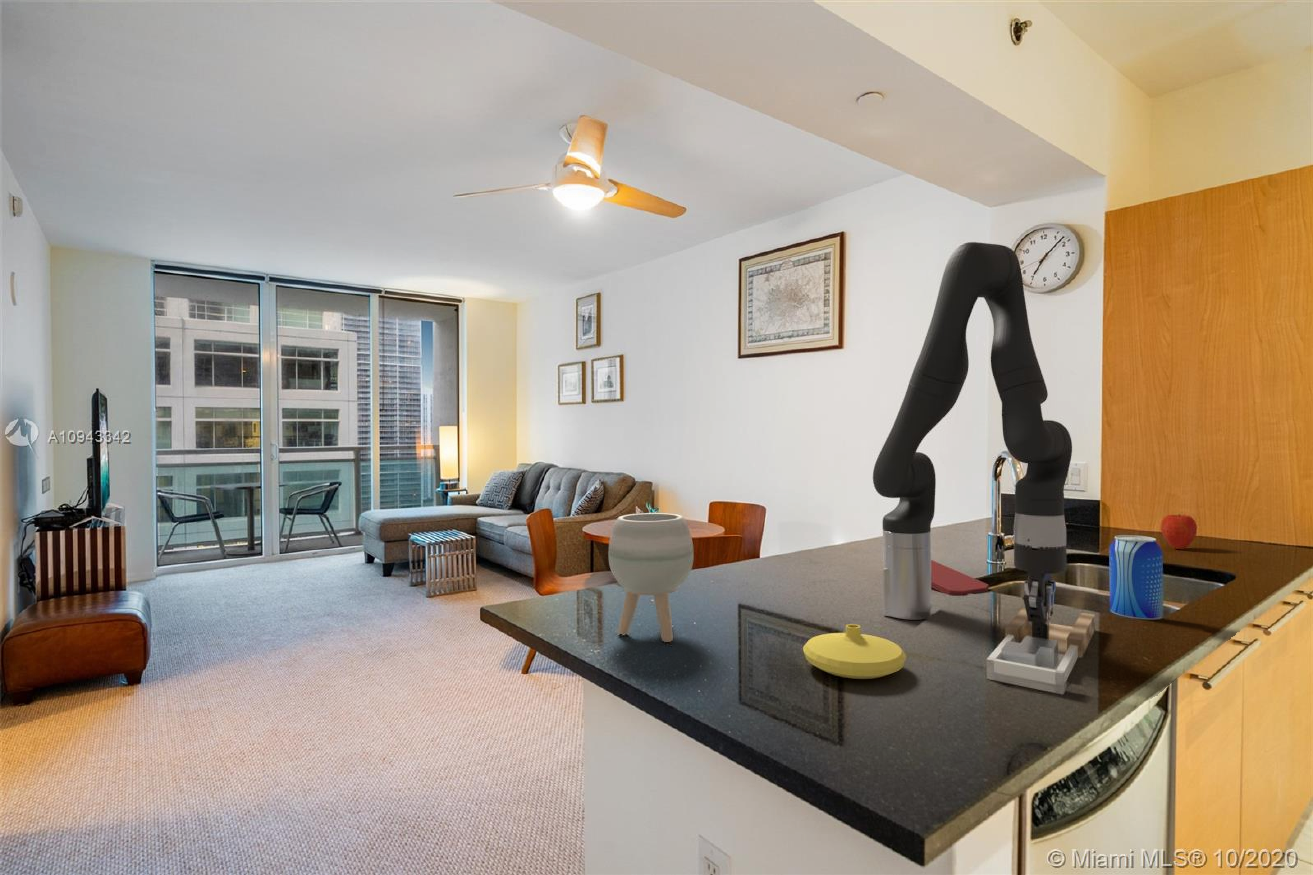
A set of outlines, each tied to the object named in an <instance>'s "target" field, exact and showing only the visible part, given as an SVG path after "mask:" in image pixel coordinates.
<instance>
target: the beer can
mask: <svg viewBox="0 0 1313 875" xmlns="http://www.w3.org/2000/svg"><path fill="white" fill-rule="evenodd" d="M1108 551H1109V552H1108V554H1109V558H1108V559H1109V564H1108V565H1109V566H1108V567H1109V568H1108V569H1109V611H1110V613H1112V614H1115V615H1117V616H1120V617H1125V618H1131V619H1136V620H1161V619H1162V618H1163V617H1164V578H1163V577H1164V575H1163V574H1164V568H1163V565H1164V564H1163V562H1164V561H1163V560H1164V559H1163V550H1162V548H1161V547H1160V545H1159V544H1158V543H1157V539H1156V538H1154V537H1151V536H1145V535H1131V534H1129V535H1128V534H1120V535H1115V536H1114V540H1113V541H1112V542H1111V544H1110V546H1109V548H1108Z"/></svg>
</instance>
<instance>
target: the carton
mask: <svg viewBox="0 0 1313 875" xmlns="http://www.w3.org/2000/svg"><path fill="white" fill-rule="evenodd" d="M931 589H934V590H936V591H938V592H940V593H942V594H944V595H949V596H965V595H971V594H976V593H984V592H986V591H988V590H989V584H988V583H986V582H983V581H981V580H979V579H976V578H975V577H972V576H969V575H967V574H965V573H962V572H960V571H958V570H955V569H953V568H951V567H948V566H947V565H943V564H942V563H939V562H936V561H934V560H932V559H931Z"/></svg>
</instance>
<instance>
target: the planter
mask: <svg viewBox="0 0 1313 875" xmlns="http://www.w3.org/2000/svg"><path fill="white" fill-rule="evenodd" d="M689 528H690V527H689V525H688V523H687V521H686V519H685V518H684V516H683V515H681V514H676V513H669V512H668V513H665V512H646V513H645V512H644V513H643V512H642V513H641V512H640V513H631V514H624V515H621V516H618V518H616V521H615V522H614V525H613V527H612V530H611V534H610V538H609V543H608V551H607V552H608V565H609V568H610V571H611V573H612V576H613V577H614V578H615V580H616V581H617V582H618V583H619V585H620V586H621V587H622V588H624V589H625V591H626V592H625V598H624V602H623V607H622V611H621V615H620V619H619V623H618V628H617V634H619V633H621V634H627V633H628V634H629V633H630V629H631V626H632V624H633V623H632V622H633V620H634V617H635V613H636V610H637V606H638V602H639V599H640V596H653V600H654V605H655V610H656V617H657V623H658V627H659V633H660V638H661V640H662V642H663V641H664V642H663V643H665V642H670V643H672V642H671V641H674V640H673V639H674V633H673V626H672V623H673V622H672V614H671V605H670V598H669V594H670V593H674V592H676V591H678V589H679V587H680V586H682V584H683V583H684V582H685V581H686V580H687V578H688V577H689V575H690V573H691V571H692V568H693V565H694V544H693V542H694V541H693V539H692V538H693V537H692V535H691V532H690V529H689ZM628 634H627V635H628Z"/></svg>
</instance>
